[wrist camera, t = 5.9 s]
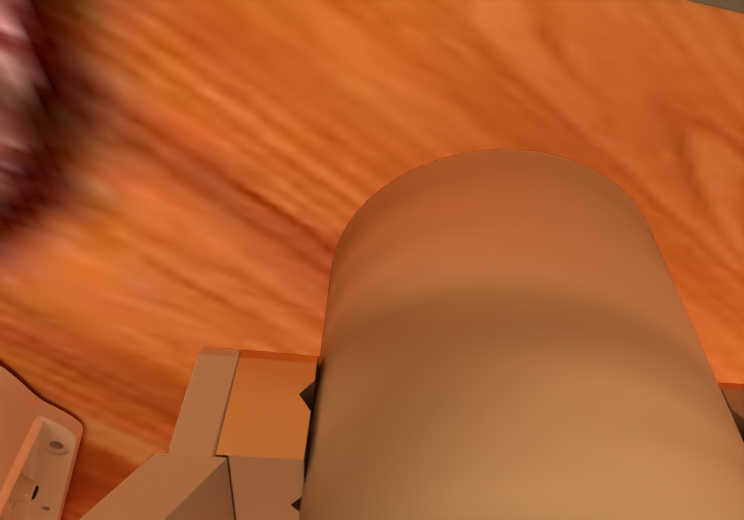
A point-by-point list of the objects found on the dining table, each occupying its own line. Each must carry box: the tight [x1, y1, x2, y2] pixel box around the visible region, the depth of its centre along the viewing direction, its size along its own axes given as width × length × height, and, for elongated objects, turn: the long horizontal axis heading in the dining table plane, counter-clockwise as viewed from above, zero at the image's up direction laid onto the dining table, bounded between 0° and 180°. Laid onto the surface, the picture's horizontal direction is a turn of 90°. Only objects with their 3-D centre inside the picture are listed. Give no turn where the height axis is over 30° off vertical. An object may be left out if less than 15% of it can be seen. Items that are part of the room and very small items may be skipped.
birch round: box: [299, 149, 744, 520], centre depth 9 cm, size 5×5×6 cm
